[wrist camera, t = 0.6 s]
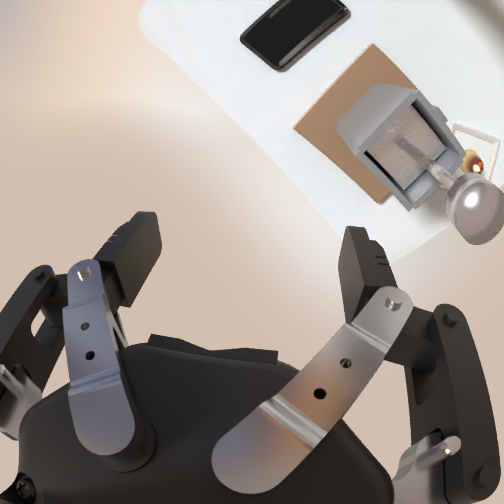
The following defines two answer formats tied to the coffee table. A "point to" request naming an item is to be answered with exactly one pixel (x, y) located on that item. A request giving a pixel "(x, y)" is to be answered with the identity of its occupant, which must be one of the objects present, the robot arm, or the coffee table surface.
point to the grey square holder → (374, 126)
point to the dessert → (472, 159)
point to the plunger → (440, 176)
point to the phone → (290, 28)
